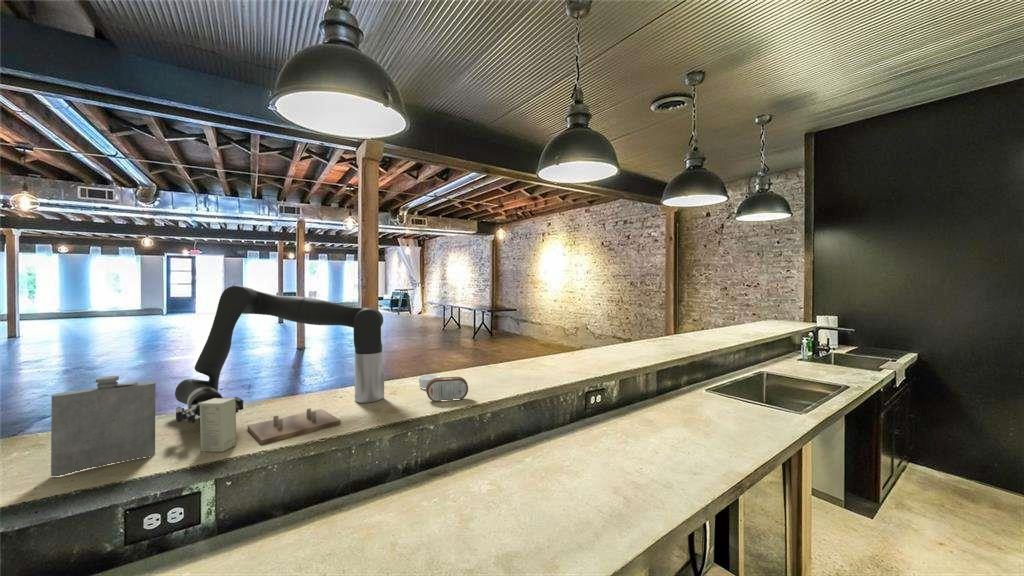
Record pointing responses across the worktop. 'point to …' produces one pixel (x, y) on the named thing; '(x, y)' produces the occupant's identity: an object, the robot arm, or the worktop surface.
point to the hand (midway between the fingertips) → (214, 414)
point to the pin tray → (292, 425)
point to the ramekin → (426, 380)
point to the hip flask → (102, 425)
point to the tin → (447, 388)
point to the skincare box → (218, 424)
